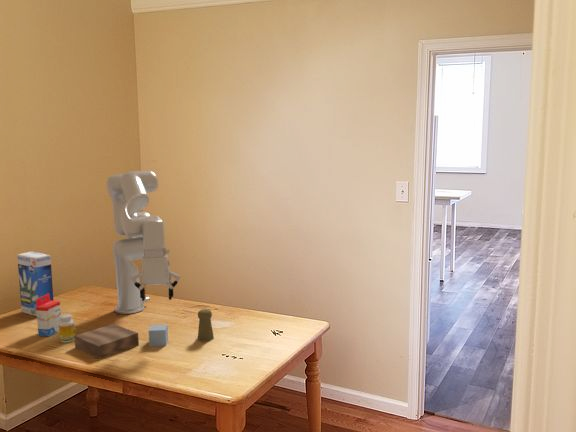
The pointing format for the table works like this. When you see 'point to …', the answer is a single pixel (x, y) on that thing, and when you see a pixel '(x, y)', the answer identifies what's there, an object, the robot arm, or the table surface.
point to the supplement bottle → (66, 328)
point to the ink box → (47, 316)
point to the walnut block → (106, 340)
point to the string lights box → (34, 279)
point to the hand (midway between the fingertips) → (157, 299)
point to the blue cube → (158, 335)
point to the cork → (205, 325)
